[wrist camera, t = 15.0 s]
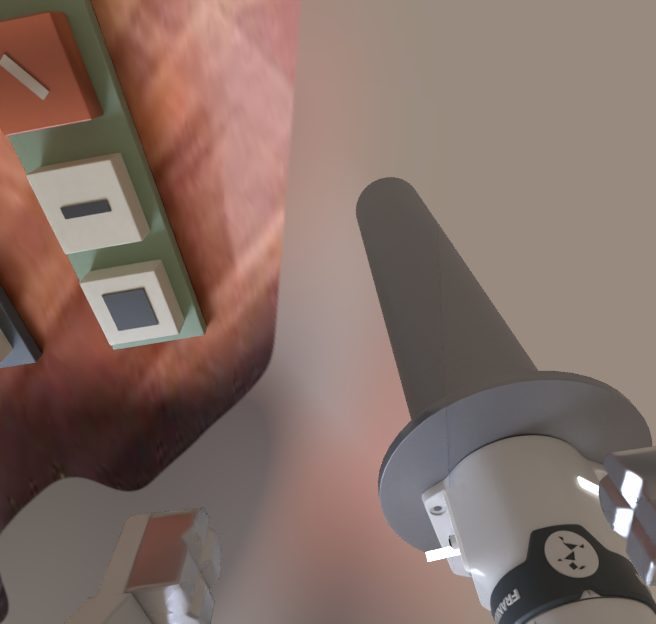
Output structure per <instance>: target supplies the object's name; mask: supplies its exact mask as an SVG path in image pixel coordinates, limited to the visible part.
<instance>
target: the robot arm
mask: <svg viewBox="0 0 656 624" xmlns="http://www.w3.org/2000/svg"><path fill="white" fill-rule="evenodd" d="M422 501H423V503H424V506H425V508H426V511H427V513H428V516H429V518H430V520H431V523H432V525H433V528H434V530H435V532H436V535H437V537H438V539H439V542H440V544H441V547H442V549H437V550H433V551H429V552H426V555H427V560H428V561H433V560H437V559H442V558H446V559H447V561H448V563H449V566H450V568H451V570H452V572H453V573H454V574H457V575H461V576H466V577H472V578H473V581H474V585H475V588H476V591H477V594H478V597H479V600H480V603H481V605H482V606H483V607H484V608H486V609H488V610H490V611H491V613H492V616H493V618H494V621H495V624H656V603H655V601H654V600H653V598H652V595H651V592H650V590H649V588H648V586H654V585H656V446H653V447H646V448H639V449H632V450H626V451H619V452H612V453H608V454H607V455H606V456H605V458H604V463H603V465H602V464H600V463H597V462H594V461H591V460H587V459H586V458H584V457H583V456H582V455H581V454H580V453H579V452H578V450H577V449H575V448H574V447H573V446H572V445H570V444H568V443H567V442H565V441H562V440H560V439H557V438H553V437H548V436H540V435H526V436H516V437H511V438H506V439H503V440H499V441H496V442H493V443H490V444H488V445H486V446H484V447H482V448H480V449H478V450H476V451H474V452H473V453H471V454H470V455H468V456H467V457H465V458H464V459H463V460H462V461H461V462H459V463H458V464H457V465H456V466H455V468H454V469H453V470H452V471H451V472H450V473H449V475H448V476H447V477H446V478H445V479H444V480H442V481H440V482H439V483H437V484H435V485H433V486H432V487H430V488H429V489H427V490H426V491H425V492H424V493H423V494H422ZM208 522H209V516H208V514H207V512H206V510H205V508H204V507H203V508H194V509H184V510H174V511H165V512H155V513H147V514H139V515H131V516H130V517H129V518H128V520H127V521H126V522H125V523H124V526H123V528H122V531H121V533H120V536H119V539H118V541H117V544H116V546H115V549H114V551H113V554H112V557H111V559H110V562H109V564H108V567H107V570H106V572H105V575H104V577H103V580H102V582H101V585H100V588H99V590H98V593H97V595H96V597H90V598H88V599H87V600H86V601H85V602H84V603H83V604H82V605H81V606H80V607H79V608H78V610H77V611H76V612H75V613H74V614H73V615H72V616H71V617H70V618H69V619H68V620H67V621H66V622H65V623H64V624H211V619H212V614H213V608H214V603H215V601H214V598H213V597H212V594H211V592H210V589H211V588H212V586H213V585H214V584H215V582H216V581H217V580H218V579H219V573H220V567H221V547H220V542H219V538H218V535H217V533H216V531H215V530H213V529H212V528H210V527H208ZM629 560H631V561H632V563H633V564H632V563H631V562H630V561H629ZM633 565H634V566H635V567H634V566H633ZM635 568H636V569H637V571H638V572H637V571H636V569H635ZM638 573H639V574H640V576H641V577H640V576H639V574H638Z"/></svg>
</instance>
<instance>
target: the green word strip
mask: <svg viewBox="0 0 656 624" xmlns="http://www.w3.org/2000/svg"><path fill="white" fill-rule="evenodd" d="M47 11H51V12H64V13H65V14H66V17H67V20H68V22H69V25H70V27H71V30H72V33H73V35H74V38H75V40H76V43H77V46H78V48H79V51H80V53H81V56H82V59H83V61H84V64H85V66H86V69H87V72H88V74H89V77H90V79H91V82H92V85H93V87H94V90H95V92H96V95H97V98H98V100H99V103H100V105H101V108H102V110H103V113H104V115H102V116H100V117H98V118H95V119H93V120H90V121H84V122H79V123H74V124H68V125H63V126H58V127H52V128H47V129H42V130H36V131H31V132H25V133H20V134H15V135H9V136H8V137H9V139H10V141H11V143H12V145H13V147H14V149H15V151H16V153H17V155H18V157H19V159H20V161H21V163H22V165H23V167H24V169H25V171H26V173H27V174H26V177H27V179H28V181H29V183H30V185H31V187H32V189H33V191H34V193H35V195H36V197H37V199H38V201H39V203H40V205H41V207H42V209H43V211H44V213H45V215H46V217H47V219H48V221H49V223H50V225H51V227H52V229H53V231H54V233H55V235H56V237H57V239H58V241H59V243H60V245H61V247H62V249H63V251H64V253H65V254H67V256H68V258H69V260H70V262H71V264H72V266H73V268H74V270H75V272H76V274H77V276H78V278H79V280H80V286H81V288H82V290H83V292H84V294H85V296H86V298H87V300H88V302H89V304H90V306H91V308H92V310H93V312H94V314H95V316H96V318H97V320H98V322H99V324H100V326H101V328H102V330H103V332H104V334H105V336H106V338H107V340H108V342H109V344H110V345H112V347H113V349H114V350H115V349H121V348H127V347H134V346H140V345H146V344H152V343H158V342H165V341H171V340H177V339H183V338H189V337H195V336H202V335H205V332H206V329H207V327H206V324H205V321H204V318H203V316H202V313H201V310H200V307H199V304H198V302H197V299H196V296H195V293H194V290H193V288H192V285H191V282H190V279H189V276H188V273H187V271H186V268H185V265H184V262H183V259H182V257H181V254H180V251H179V248H178V245H177V243H176V240H175V237H174V234H173V231H172V229H171V226H170V223H169V220H168V217H167V215H166V212H165V209H164V206H163V203H162V201H161V198H160V195H159V192H158V189H157V187H156V184H155V181H154V178H153V175H152V173H151V170H150V167H149V164H148V161H147V159H146V156H145V153H144V150H143V147H142V145H141V142H140V139H139V136H138V133H137V131H136V128H135V125H134V122H133V119H132V117H131V114H130V111H129V108H128V105H127V103H126V100H125V97H124V94H123V91H122V89H121V86H120V83H119V80H118V77H117V75H116V72H115V69H114V66H113V63H112V61H111V58H110V55H109V52H108V49H107V46H106V44H105V41H104V38H103V35H102V32H101V30H100V27H99V24H98V21H97V18H96V16H95V13H94V10H93V7H92V4H91V2H90V0H0V21H2V20H7V19H12V18H17V17H22V16H27V15H32V14H37V13H42V12H47Z"/></svg>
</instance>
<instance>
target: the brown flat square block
mask: <svg viewBox="0 0 656 624" xmlns="http://www.w3.org/2000/svg"><path fill="white" fill-rule="evenodd" d="M102 115H104V113H103V110H102V108H101V105H100V103H99V100H98V98H97V95H96V92H95V90H94V87H93V85H92V82H91V79H90V77H89V74H88V72H87V69H86V66H85V64H84V61H83V59H82V56H81V53H80V51H79V48H78V46H77V43H76V40H75V38H74V35H73V33H72V30H71V27H70V25H69V22H68V20H67V17H66V14H65V13H64V12H51V11H47V12H42V13H37V14H32V15H27V16H22V17H17V18H12V19H7V20H2V21H0V128H1V130H2V132H3V134H4V136H9V135H15V134H20V133H25V132H31V131H36V130H42V129H47V128H52V127H58V126H63V125H68V124H74V123H79V122H84V121H90V120H93V119H95V118H98V117H100V116H102Z"/></svg>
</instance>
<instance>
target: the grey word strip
mask: <svg viewBox="0 0 656 624" xmlns="http://www.w3.org/2000/svg"><path fill="white" fill-rule="evenodd" d="M41 356H42V354H41V352H40V350H39V349H38V347H37V345H36V343H35V342H34V340H33V338H32V337H31V335H30V333H29V332H28V330H27V328H26V327H25V325H24V323H23V322H22V320H21V318H20V317H19V315H18V313H17V312H16V310H15V308H14V307H13V305H12V303H11V302H10V300H9V298H8V297H7V295H6V293H5V292H4V290H3V288H2V287H1V285H0V368H4V367H10V366H16V365H22V364H28V363H35V362H37V361H38V359H39V358H40V357H41Z"/></svg>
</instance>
